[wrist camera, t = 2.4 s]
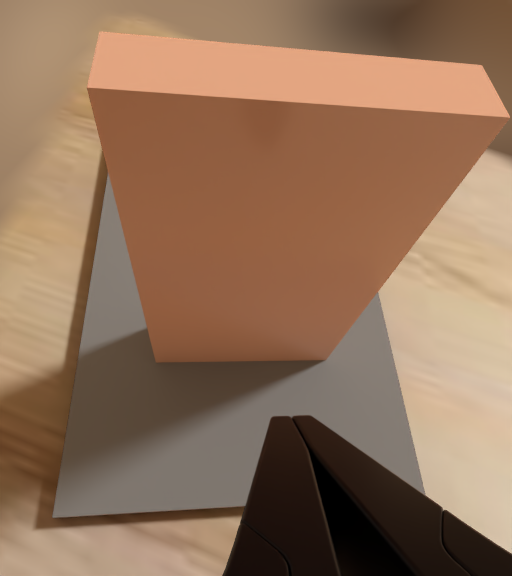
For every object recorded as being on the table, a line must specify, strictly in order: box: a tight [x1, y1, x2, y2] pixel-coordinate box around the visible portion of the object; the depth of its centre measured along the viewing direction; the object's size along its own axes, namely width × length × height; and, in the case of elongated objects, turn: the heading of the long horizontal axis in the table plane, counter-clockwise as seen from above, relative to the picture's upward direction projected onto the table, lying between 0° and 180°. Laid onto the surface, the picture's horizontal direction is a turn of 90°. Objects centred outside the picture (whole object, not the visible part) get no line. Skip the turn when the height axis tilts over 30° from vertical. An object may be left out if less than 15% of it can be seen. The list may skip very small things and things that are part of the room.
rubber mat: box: [52, 173, 425, 518], centre depth 19 cm, size 19×13×1 cm
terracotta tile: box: [87, 32, 510, 363], centre depth 12 cm, size 2×7×12 cm, turn 93°
